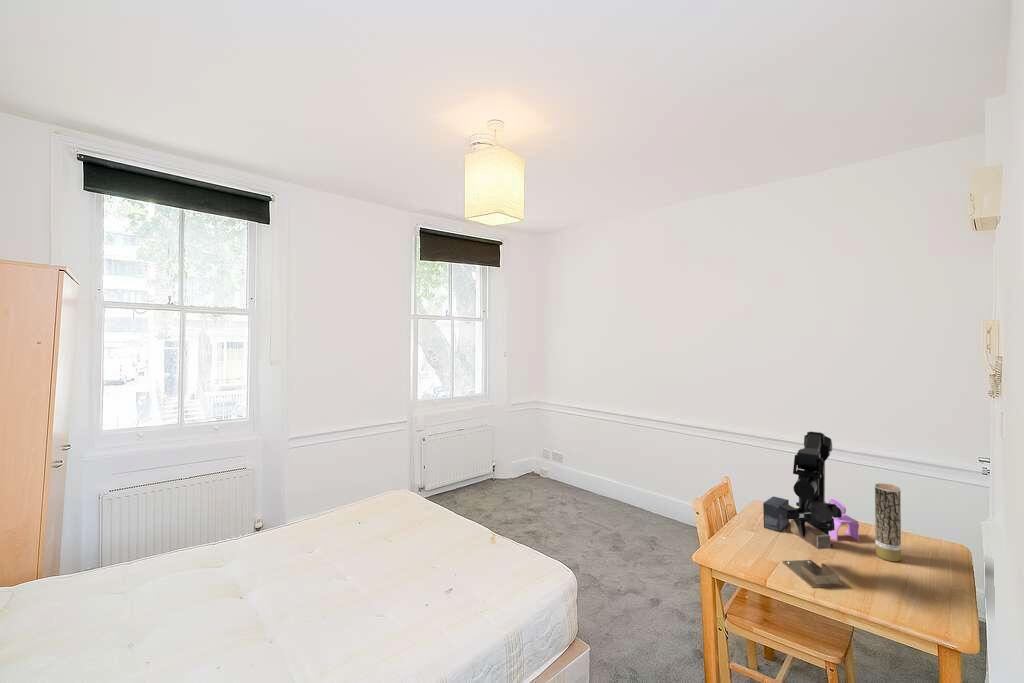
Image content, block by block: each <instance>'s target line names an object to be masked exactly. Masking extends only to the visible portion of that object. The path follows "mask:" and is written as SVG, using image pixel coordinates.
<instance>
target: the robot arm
mask: <svg viewBox="0 0 1024 683" xmlns="http://www.w3.org/2000/svg"><path fill="white" fill-rule="evenodd" d="M803 437H804V439H803V447H804V448H800V449H798V450H797V453H796V454H794V460H793V470H792V474H793V475H797V476H798V478H797V480H796V482H795V483H794V485H793V492H794V494H795V495H796V496H797V497H798V502H795V503H796V504H795V505H796V506H797V508H796V507H793V506H792V505H790V504H789V505H779V506H778V507H777V513H778V514H780V515H782V516H783V517H785V518H786V519H789V520H794V522H795V524H796V526H797V528H798V530H799V532H800V534H801V536H802V537H805V522H807V523H809V524H810V525H812V526H814V527H815V528H817V529H819V530H820V531H822V532H824V533H825V534H827V535H829V531H832V530H835V527H834V519H833V518H832V517H834V518H839V517H842V511H841V510H840V508H838V507H837V506H836V505H835V504H830V503H829V502H828V503H827V502H826V497H825V496H826V495H825V494H826V461H827V460H828V459H829V457H830V455H831V452H832V451H833V442H832V439H831V438H830V437H828V436H826V435H825V434H824V433H822V432H818V431H807V433H806V434H805V435H803ZM830 547H834V544H833V543H832V542H830Z"/></svg>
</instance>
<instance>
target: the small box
mask: <svg viewBox="0 0 1024 683" xmlns="http://www.w3.org/2000/svg"><path fill="white" fill-rule="evenodd" d="M762 505H763V506H762V509H763V510H762V513H763V528H764V529H766V530H771V531H774V532H778V533H781V532H782V531H783V530H784V529H786V528H787V527H788V526H790V519H786V518H785V517H783V516H782V515H780V514H778V513H777V507H778V506H779V505H790V503H789V499H787V498H782V497H777V496H771V497H770V498H768V499H767V500H765V501H764V502H763V503H762Z"/></svg>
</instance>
